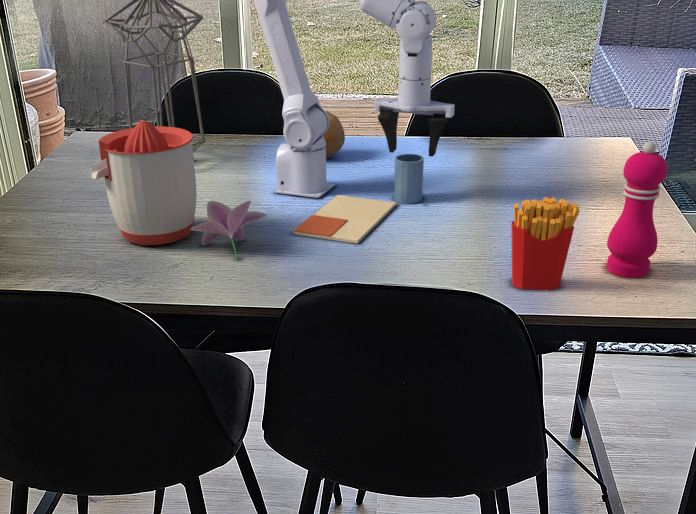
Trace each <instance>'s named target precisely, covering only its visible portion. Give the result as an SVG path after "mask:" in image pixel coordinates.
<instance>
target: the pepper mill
mask: <svg viewBox="0 0 696 514" xmlns="http://www.w3.org/2000/svg"><path fill="white" fill-rule="evenodd" d="M656 150H657V146H656V144H655V143H654V141H647V142H645V143H644V144H643V146H642V151H637V152H636V153H633V154H632V155H630V156H629V157H628V158H627V159H626V161H625V163H624V166H623V178H624V179H625V180H626V183H624V185H623V186H624V187H623V188H624V190H623V195H624V196H625V197H624V205H623V209H622V211H621V213H620V216H619V217H618V219H617V220H616V221H615V223H614V225H613V227H612V228H611V229H610V232H609V233H608V237H607V240H606V247H607V250H608V251H609V252H610V253H611V254H609V255H608V257H607V259H606V260H607V261H606V266H605V267H606V270H607V271H608V272H609V273H610V274H612V275H615V276H617V277H620V278H628V279H637V278H643V277H645V276H647V275H648V274H649V272H650V268H651V267H650V266H651V260H650V258H651V257H652V256H653V255H654V254H655V253H656V251H657V250H658V233H657V230H656V226H655V222H654V205H655V201H656V199H657V198H659V197H660V191H661V186H660V185H661V184H662V183H663V182H664V181H665V180H666V178H667V175H668V162H667V161H666V159H665V158H664V157H663V155H661V154H660V153H658V152H656Z"/></svg>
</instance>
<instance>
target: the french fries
mask: <svg viewBox="0 0 696 514" xmlns="http://www.w3.org/2000/svg"><path fill="white" fill-rule="evenodd" d="M556 199H557V198H556V197H551V198H549V197H546V196H543V199H542V200H539V199H538V200H537V199H531V200H530V199H524V200H522V201H521V209H520V204H519V203H513V216H514V219H513V220H512V221H511V222H510V224H511V228H510V229H511V230H510V231H511V235H510V236H511V237H510V238H511V283H512V286H513V287H514V288H517V289H520V290H527V291H528V290H529V291H553V290H555V289H558V288H560V286H561V282H562V277H563V273H564V269H565V266H566V261H567V258H568V253H569V251H570V246H571V241H572V238H573V233H574V229H575V226H574V225H575V222H576V220H577V219H578V216H579V214H580V212H581V210H580V207H579V206H578V203H576V202H572V203H570V201H567V200H566V199H564V198H560V199H559V200H558V201H557V200H556Z"/></svg>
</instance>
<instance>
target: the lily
mask: <svg viewBox="0 0 696 514" xmlns="http://www.w3.org/2000/svg"><path fill="white" fill-rule="evenodd" d="M251 203H252V201H251V200H247V201H244V202H243V203H240V204H239V205H237V206H235V207H233V208H230V207H229V205H226V204H224V203H223V202H220V201H215V200H209V201H207V203H206V215H207V219H208V220H207V221H203V222H202V223H199V224H196V225H194V226H192V228H191V229H190V230H191V231H192V232H193V231H195V232H204V233H203V236H202V239H201V245H202V246H205V245H208V244H210V243H211V242H212V241H214V240H217V239H219V238H220V237H222V236H226V237H228V238H230V240H231V244H232V248H233V251H234V254H235V258H236V260H238V259H239V255H238V252H237V249H236V245H235V242H234V240H236V241H239V242H241V241H243V239H244V228H243V227H244V226H246V225H248V224H251V223H252V222H255V221H258V220H260V219H263V218H266V217H267V214H266V213H264V212H260V211H252V210H251V211H250V210H249V208H250V206H251Z"/></svg>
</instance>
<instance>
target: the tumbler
mask: <svg viewBox="0 0 696 514" xmlns="http://www.w3.org/2000/svg"><path fill="white" fill-rule="evenodd" d="M424 163H425V158H424V156H422V155H420V154H417V153H416V154H415V153H401V154H398V155H396V156H395V157H394V177H393V179H394V182H393V200H394V202H396V203H399V204H405V205H412V204H413V205H414V204H417V203H420V202H422V200H423V192H424V191H423V187H424Z"/></svg>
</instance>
